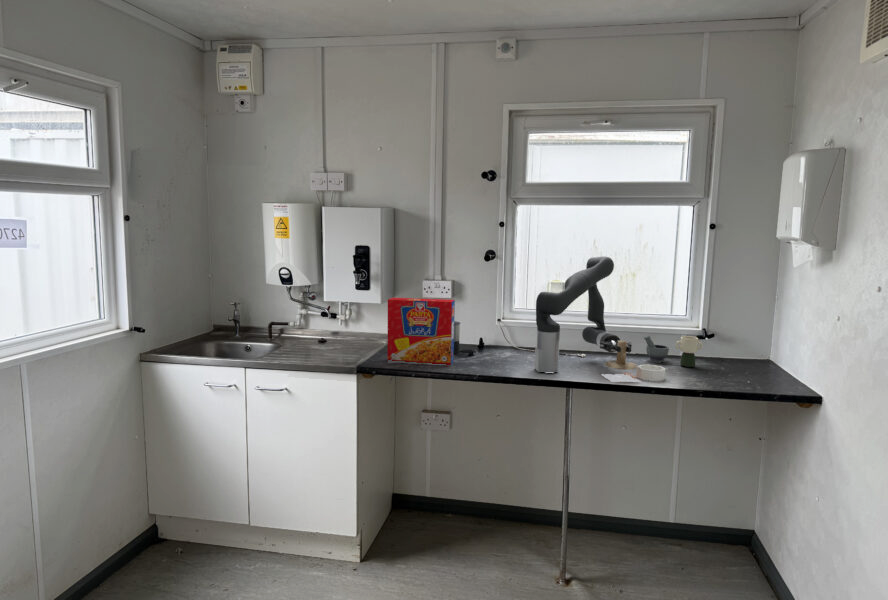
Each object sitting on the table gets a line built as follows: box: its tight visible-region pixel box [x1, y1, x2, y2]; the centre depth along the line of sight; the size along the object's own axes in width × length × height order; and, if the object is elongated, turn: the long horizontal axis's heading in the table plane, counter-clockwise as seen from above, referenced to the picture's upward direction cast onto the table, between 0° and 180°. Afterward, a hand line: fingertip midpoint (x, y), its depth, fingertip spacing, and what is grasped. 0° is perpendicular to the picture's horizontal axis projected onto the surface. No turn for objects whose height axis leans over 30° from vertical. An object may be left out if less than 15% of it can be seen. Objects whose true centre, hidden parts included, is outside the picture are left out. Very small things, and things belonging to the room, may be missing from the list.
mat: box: [622, 372, 638, 379], centre depth 225 cm, size 13×14×1 cm
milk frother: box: [454, 320, 477, 355], centre depth 265 cm, size 14×16×15 cm
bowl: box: [636, 364, 666, 382], centre depth 226 cm, size 10×10×4 cm
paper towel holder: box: [604, 340, 638, 371], centre depth 224 cm, size 12×12×10 cm
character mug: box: [675, 335, 703, 368], centre depth 247 cm, size 11×7×13 cm, turn 80°
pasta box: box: [387, 297, 456, 366], centre depth 246 cm, size 28×8×28 cm, turn 80°
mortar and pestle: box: [643, 334, 670, 364], centre depth 256 cm, size 11×9×12 cm
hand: (624, 350), depth 221 cm, fingers closed on paper towel holder, 3 cm apart
